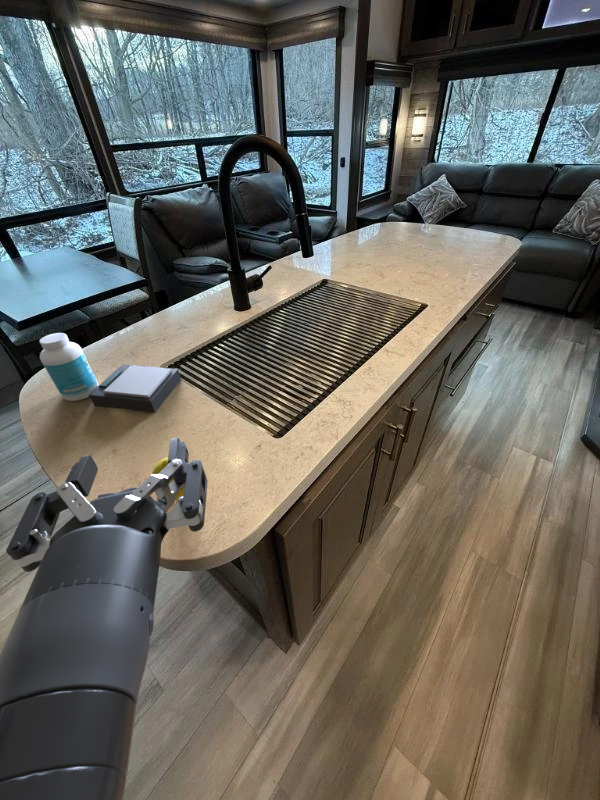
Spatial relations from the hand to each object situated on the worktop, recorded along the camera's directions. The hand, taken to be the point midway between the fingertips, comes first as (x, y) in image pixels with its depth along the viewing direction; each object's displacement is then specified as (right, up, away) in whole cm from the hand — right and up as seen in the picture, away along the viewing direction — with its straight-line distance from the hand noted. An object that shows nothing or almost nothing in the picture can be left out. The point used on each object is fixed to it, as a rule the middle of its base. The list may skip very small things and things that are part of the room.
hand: (134, 452), depth 34 cm
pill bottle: (-32, +7, +40) cm, 52 cm away
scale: (-19, +7, +40) cm, 45 cm away
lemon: (-2, -10, +19) cm, 21 cm away
